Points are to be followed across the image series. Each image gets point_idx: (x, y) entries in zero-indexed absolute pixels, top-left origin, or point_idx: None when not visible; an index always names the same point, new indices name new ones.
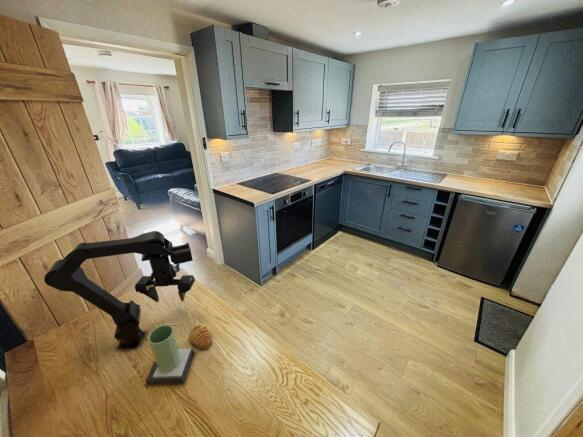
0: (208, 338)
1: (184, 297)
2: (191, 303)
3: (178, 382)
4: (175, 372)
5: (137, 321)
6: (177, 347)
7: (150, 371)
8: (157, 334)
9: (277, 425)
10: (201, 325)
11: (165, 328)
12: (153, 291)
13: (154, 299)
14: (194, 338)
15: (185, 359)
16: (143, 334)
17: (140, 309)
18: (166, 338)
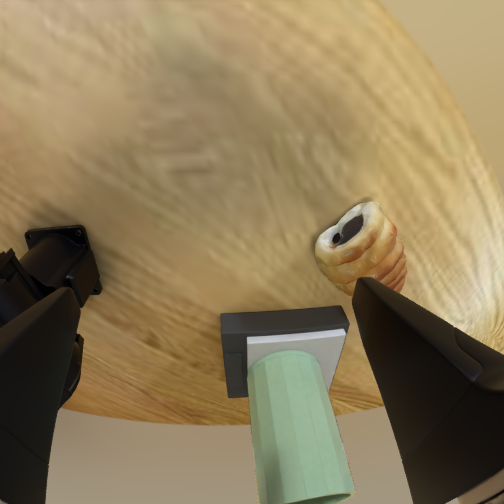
0: (402, 281)
1: (390, 288)
2: (240, 7)
3: None
4: None
5: (75, 380)
6: (336, 420)
7: (229, 386)
8: (271, 475)
9: None
10: (379, 228)
11: (309, 482)
12: (9, 432)
13: (61, 374)
14: (353, 291)
15: (334, 363)
16: (85, 240)
17: (5, 291)
18: (290, 428)
